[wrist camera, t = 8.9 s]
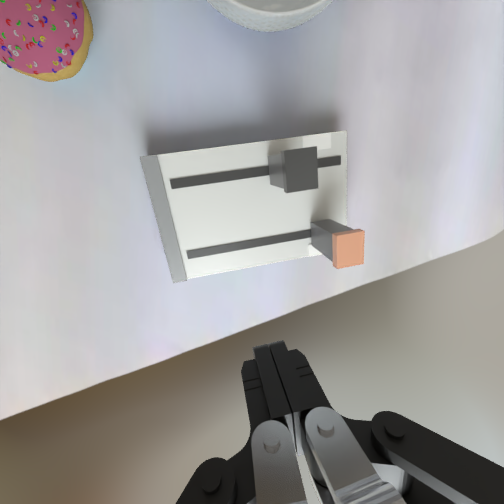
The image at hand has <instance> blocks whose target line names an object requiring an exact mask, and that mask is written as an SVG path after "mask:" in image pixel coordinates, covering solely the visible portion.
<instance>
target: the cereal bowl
mask: <svg viewBox="0 0 504 504" xmlns="http://www.w3.org/2000/svg"><path fill="white" fill-rule="evenodd" d="M207 1H208V3H210V4H211V5H212V7H213V8H214V9H216V10H217V11H218V12H220V13H221V14H222V15H223V16H224V17H227V18H228V19H229V20H231V21H232V22H234V23H237V24H238V25H241V26H243V27H246V28H247V29H253V30H257V31H264V32H271V31H273V32H276V31H281V30H287V29H291V28H294V27H296V26H298V25H302V24H303V23H305V22H306V21H309V20H311V19H312V18H313V17H314V16H316V15H318V14H319V13H320V12H321V11H323V10H324V9H325V8H326V7H327V6H328V5H329V4H330V3H332V1H333V0H207Z"/></svg>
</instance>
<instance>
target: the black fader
mask: <svg viewBox="0 0 504 504" xmlns="http://www.w3.org/2000/svg"><path fill="white" fill-rule="evenodd" d="M268 166H269V176H270V185H273V186H276V187H280V188H283V189H284V192H285V193H292V192H298V191H305V190H311V189H318V162H317V146H314V147H306V148H299V149H291V150H284V151H281V154H276V155H270V156H268Z"/></svg>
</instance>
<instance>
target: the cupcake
mask: <svg viewBox="0 0 504 504" xmlns="http://www.w3.org/2000/svg"><path fill="white" fill-rule="evenodd" d="M92 39H93V26H92V21H91V17H90V14H89V11H88V9H87V7H86V4H85V2H84V0H0V61H1V62H3V63H4V64H6V65H7V66H8V67H9V68H13V69H14V70H16V71H18V72H20V73H22V74H25V75H28V76H31V77H34V78H37V79H40V80H43V81H48V82H54V81H58V80H62V79H67V78H71V77H73V76H74V75H76V74H77V73H78V72H79V71H80V69H81V68H82V66H83V64H84V62H85V60H86V58H87V55H88V50H89V46H90V43H91V41H92Z"/></svg>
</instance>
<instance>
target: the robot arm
mask: <svg viewBox="0 0 504 504" xmlns="http://www.w3.org/2000/svg"><path fill="white" fill-rule="evenodd" d="M253 354H254V359H253V360H249V361H244V363H243V367H242V370H241V373H242V379H243V385H244V391H245V397H246V403H247V408H248V414H249V420H250V427H251V430H250V437H249V439H248V441H247V443H246V445H245V447H244V448H243V449H242V450H241V451H240V452H238V453H237V454H236V455H234V456H233V457H231V458H230V459H229V460H227V461H226V460H225V459H223V458H218V457H217V458H211V459H208V460H206V461H205V462H203V463H202V464H201V465H200V466H199V467H198V468H197V469H196V471H195V472H194V474H193V476H192V477H191V479H190V481H189V482H188V484H187V486H186V487H185V489H184V491H183V492H182V494H181V496H180V498H179V499H178V501H177V502H176V504H308V503H307V499H306V495H305V491H304V487H303V483H302V479H301V474H300V470H299V466H298V462H297V458H296V452H297V455H298V456H300V455H303V454H304V455H305V458H306V461H307V464H308V467H309V476H310V480H311V482H312V485H313V487H314V490H315V492H316V495H317V497H318V500H319V502H320V504H504V467H502V466H500V465H498V464H495V463H494V462H492V461H490V460H488V459H486V458H484V457H482V456H480V455H478V454H476V453H474V452H472V451H470V450H468V449H466V448H464V447H462V446H460V445H458V444H456V443H454V442H453V441H451V440H449V439H447V438H445V437H443V436H441V435H439V434H437V433H435V432H433V431H431V430H429V429H427V428H425V427H423V426H421V425H419V424H417V423H415V422H413V421H411V420H409V419H407V418H405V417H403V416H402V415H399V414H397V413H394V412H390V411H382V412H379V413H377V414H376V415H375V416H374V417H373V419H372V421H362V420H353V419H348V418H346V417H343V416H342V415H340V414H339V413H337V412H336V411H335V410H334V409H333V408H332V407H331V405H330V403H329V401H328V400H327V398H326V396H325V394H324V392H323V390H322V388H321V386H320V384H319V382H318V380H317V378H316V376H315V375H314V373H313V371H312V369H311V367H310V365H309V363H308V361H307V359H306V357H305V356H304V355H303V354H302V353H301V352H300V351H298V350H297V349H295V350H290V351H288V350H287V347H286V345H285V343H284V341H283V340H282V341H277V342H273V343H269V344H265V345H261V346H256V347H253ZM295 449H296V451H295Z"/></svg>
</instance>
